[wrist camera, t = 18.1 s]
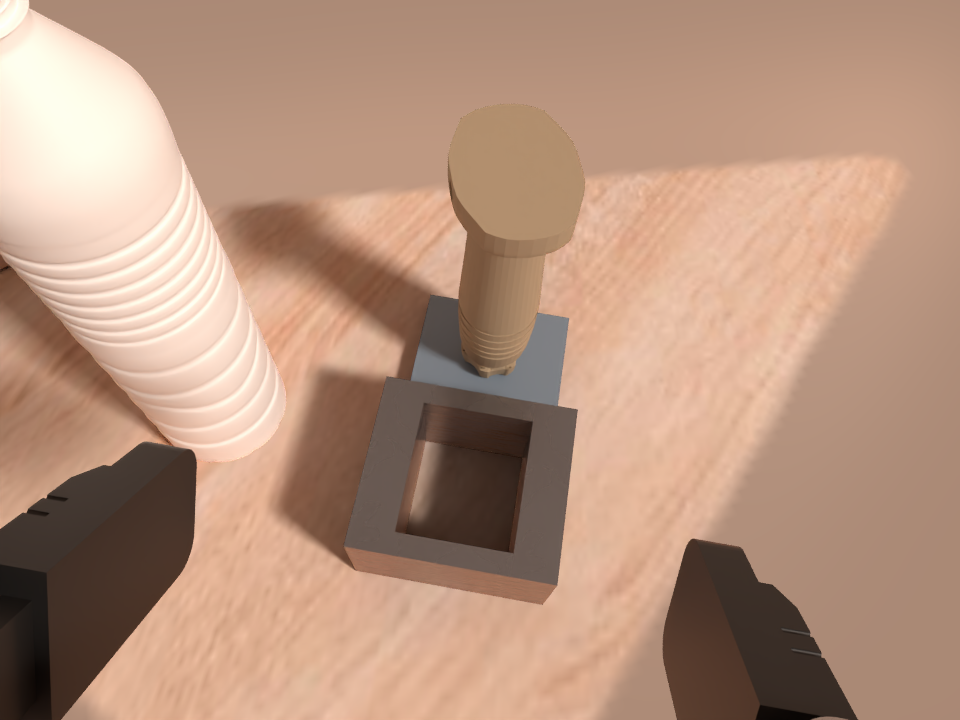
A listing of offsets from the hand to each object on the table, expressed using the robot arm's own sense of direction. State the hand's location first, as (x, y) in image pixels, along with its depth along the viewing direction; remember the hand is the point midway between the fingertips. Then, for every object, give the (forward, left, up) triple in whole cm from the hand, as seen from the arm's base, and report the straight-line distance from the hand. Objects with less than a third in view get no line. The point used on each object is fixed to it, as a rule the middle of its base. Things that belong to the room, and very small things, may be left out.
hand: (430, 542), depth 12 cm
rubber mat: (0, +16, -25) cm, 29 cm away
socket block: (0, +8, -25) cm, 26 cm away
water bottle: (-14, +12, -25) cm, 31 cm away
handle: (0, +16, -24) cm, 29 cm away
